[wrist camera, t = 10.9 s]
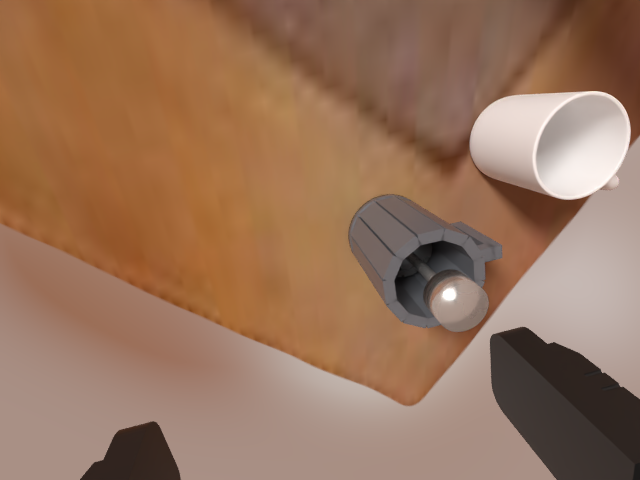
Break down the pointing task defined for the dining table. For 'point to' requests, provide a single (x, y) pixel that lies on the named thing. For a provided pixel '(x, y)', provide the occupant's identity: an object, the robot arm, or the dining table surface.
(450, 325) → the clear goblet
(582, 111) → the cup
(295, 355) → the dining table surface
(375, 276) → the gray tankard
